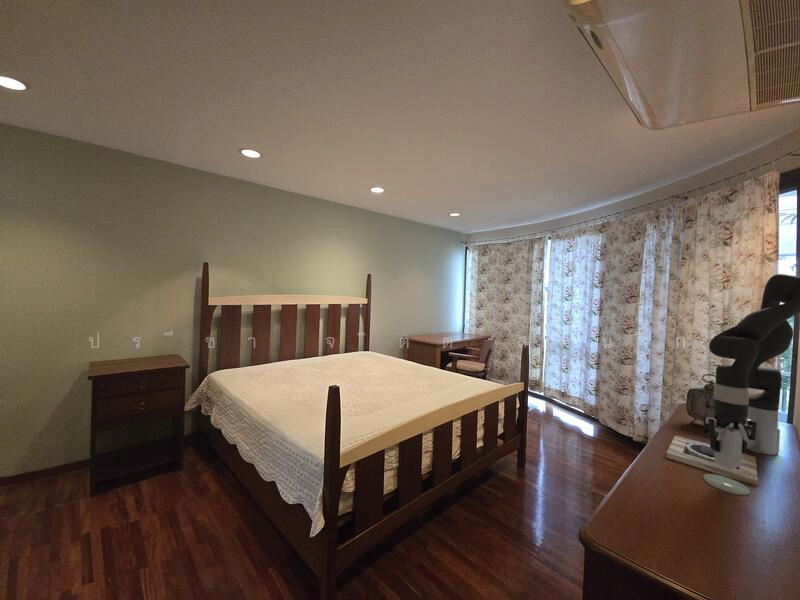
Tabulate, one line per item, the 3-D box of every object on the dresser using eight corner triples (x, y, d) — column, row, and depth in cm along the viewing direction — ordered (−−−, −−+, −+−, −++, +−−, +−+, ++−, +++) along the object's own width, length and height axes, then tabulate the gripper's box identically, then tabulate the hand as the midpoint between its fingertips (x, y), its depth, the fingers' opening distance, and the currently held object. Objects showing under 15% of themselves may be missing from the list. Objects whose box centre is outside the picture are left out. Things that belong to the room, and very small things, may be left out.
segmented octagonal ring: (712, 452, 119) (712, 444, 119) (748, 471, 106) (748, 462, 106) (677, 450, 120) (677, 442, 120) (708, 468, 107) (709, 460, 107)
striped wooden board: (674, 440, 128) (675, 435, 128) (755, 462, 112) (755, 457, 112) (666, 457, 114) (666, 452, 114) (757, 486, 97) (757, 479, 97)
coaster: (726, 476, 102) (726, 474, 102) (760, 496, 92) (760, 494, 92) (694, 474, 103) (695, 473, 103) (725, 494, 93) (725, 492, 93)
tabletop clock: (685, 423, 147) (687, 371, 147) (695, 420, 151) (697, 370, 150) (726, 436, 134) (729, 379, 134) (736, 433, 137) (739, 377, 137)
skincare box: (722, 460, 100) (724, 423, 100) (742, 467, 96) (744, 428, 96) (713, 463, 98) (714, 425, 98) (732, 471, 94) (734, 431, 94)
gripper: (718, 402, 93) (716, 456, 94) (768, 404, 93) (765, 459, 93) (696, 394, 101) (693, 444, 101) (741, 396, 100) (739, 447, 100)
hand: (728, 451), depth 97 cm, fingers closed on skincare box, 7 cm apart
